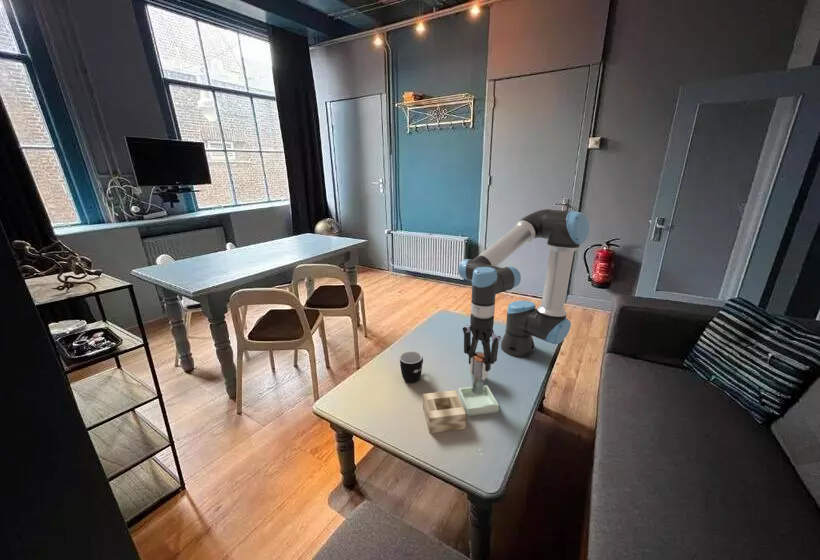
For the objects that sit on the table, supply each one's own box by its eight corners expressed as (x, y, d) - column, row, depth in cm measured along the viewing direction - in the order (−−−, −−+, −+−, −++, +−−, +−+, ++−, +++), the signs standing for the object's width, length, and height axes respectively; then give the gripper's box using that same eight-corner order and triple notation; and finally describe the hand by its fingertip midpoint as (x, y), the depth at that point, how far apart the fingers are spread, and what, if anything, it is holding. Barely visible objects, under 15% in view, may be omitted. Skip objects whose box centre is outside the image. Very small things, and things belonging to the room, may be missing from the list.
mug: (413, 388, 127) (413, 366, 124) (396, 380, 132) (395, 358, 129) (431, 373, 136) (431, 352, 133) (414, 366, 141) (413, 345, 138)
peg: (470, 387, 118) (472, 353, 113) (481, 386, 118) (483, 352, 114) (474, 395, 114) (476, 359, 109) (485, 393, 115) (487, 358, 110)
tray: (486, 391, 124) (487, 385, 123) (498, 412, 114) (498, 405, 113) (458, 395, 123) (458, 388, 122) (467, 416, 112) (467, 408, 111)
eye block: (455, 404, 118) (455, 390, 116) (465, 428, 107) (465, 413, 105) (422, 407, 117) (422, 393, 115) (429, 433, 105) (429, 418, 103)
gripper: (454, 311, 109) (452, 370, 117) (500, 325, 99) (495, 390, 106) (466, 304, 115) (464, 361, 122) (511, 317, 104) (506, 379, 111)
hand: (478, 374), depth 114 cm, fingers closed on peg, 4 cm apart
